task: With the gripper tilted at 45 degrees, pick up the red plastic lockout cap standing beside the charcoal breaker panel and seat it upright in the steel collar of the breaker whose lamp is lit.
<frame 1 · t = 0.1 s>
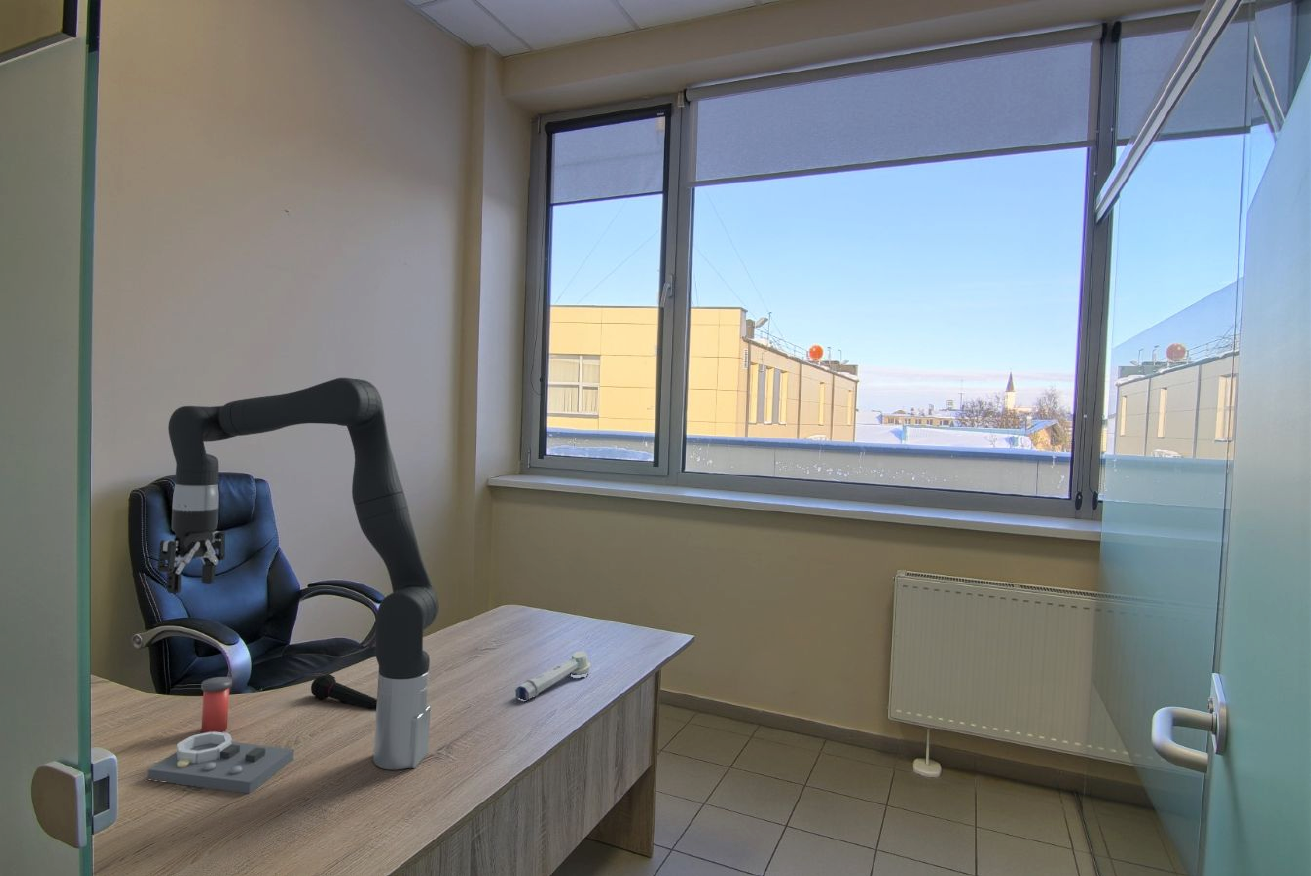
hand: (191, 587, 137), 29 cm above the table, tool pointing down, fingers open, 8 cm apart
breaker panel: (223, 769, 125), on the table
microphone: (347, 705, 156), on the table
toothbrush head: (554, 687, 174), on the table
lockout cap: (214, 730, 139), on the table
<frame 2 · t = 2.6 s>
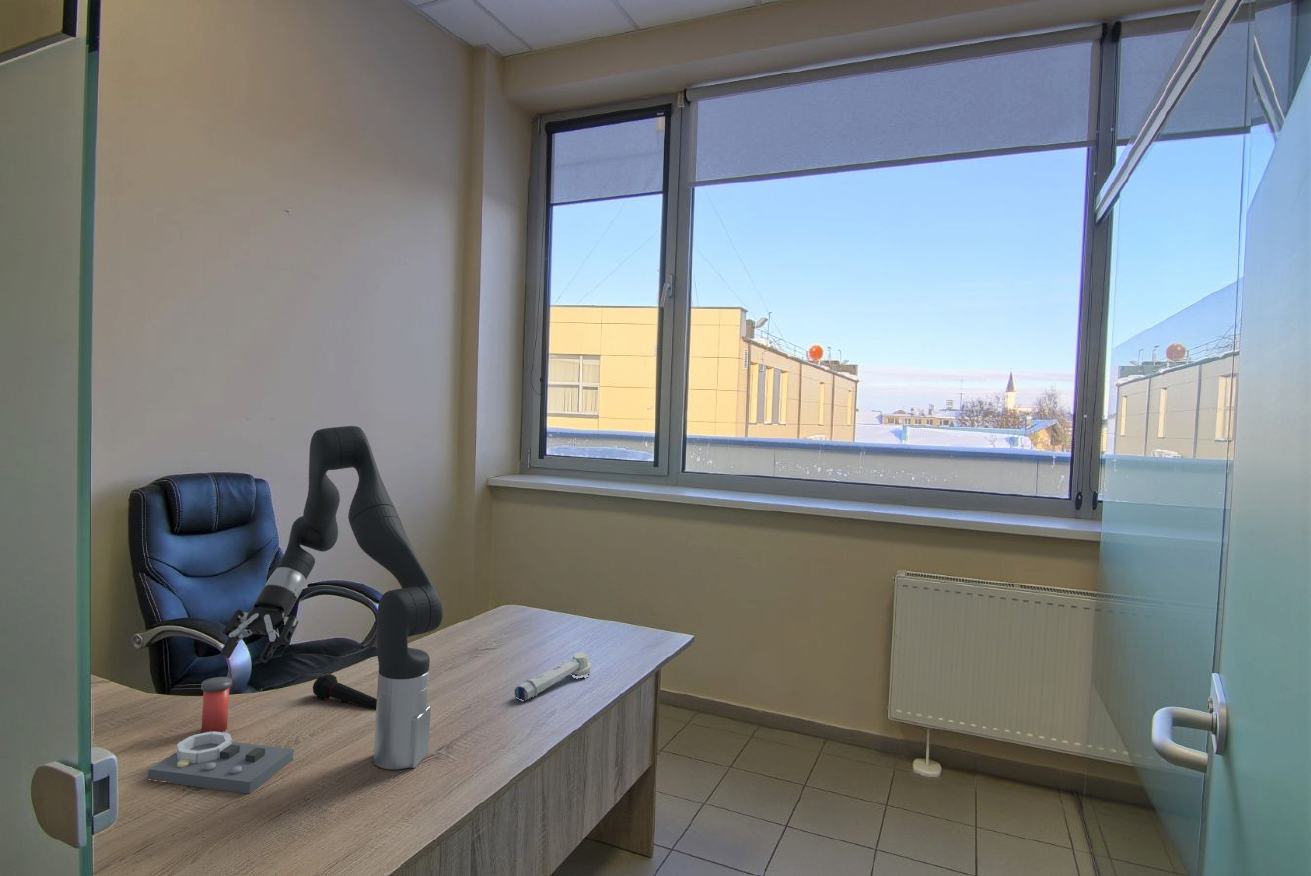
hand: (243, 658, 147), 12 cm above the table, tool tilted 45°, fingers open, 8 cm apart
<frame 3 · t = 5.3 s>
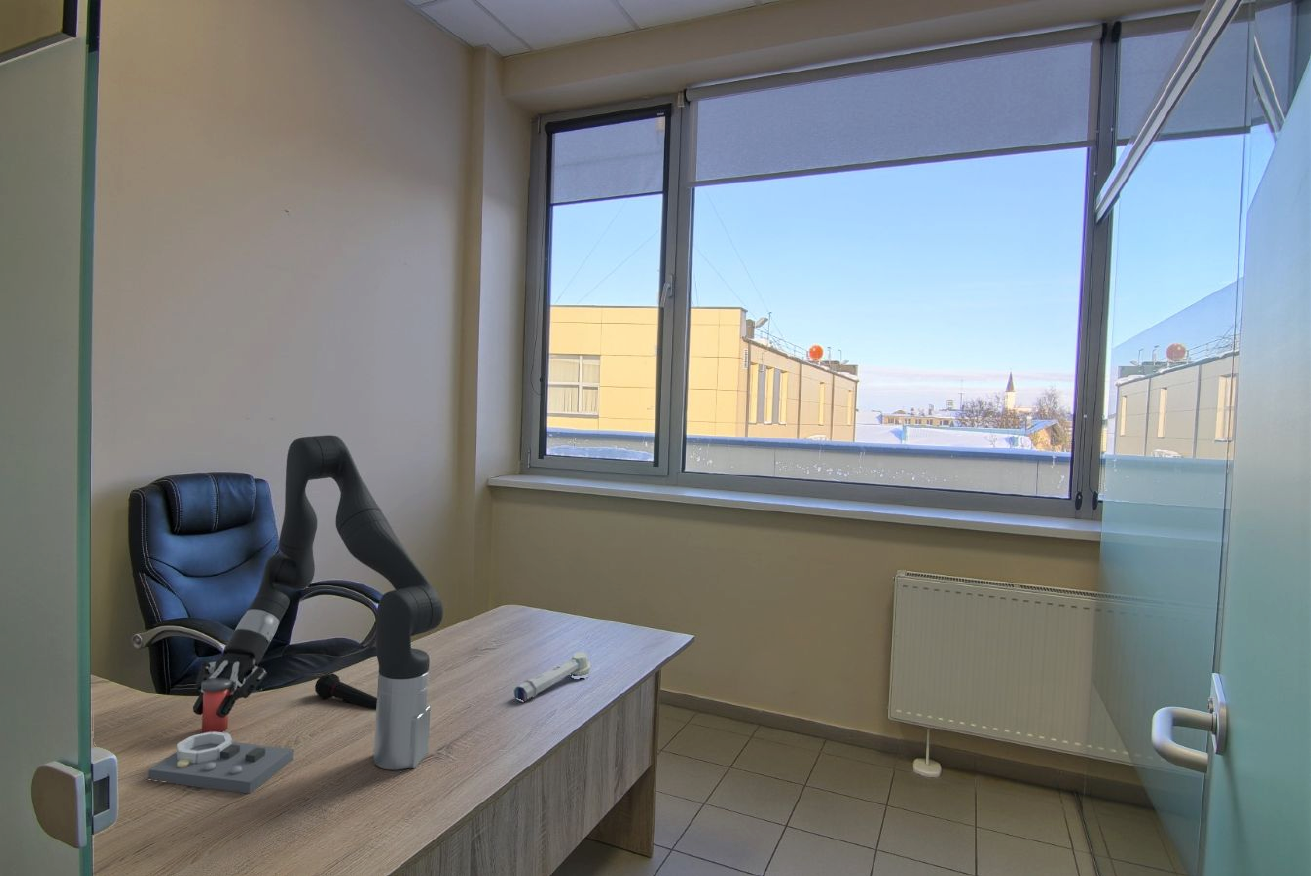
hand: (208, 714, 137), 4 cm above the table, tool tilted 45°, fingers closed on lockout cap, 4 cm apart
lockout cap: (214, 730, 139), on the table, touching gripper
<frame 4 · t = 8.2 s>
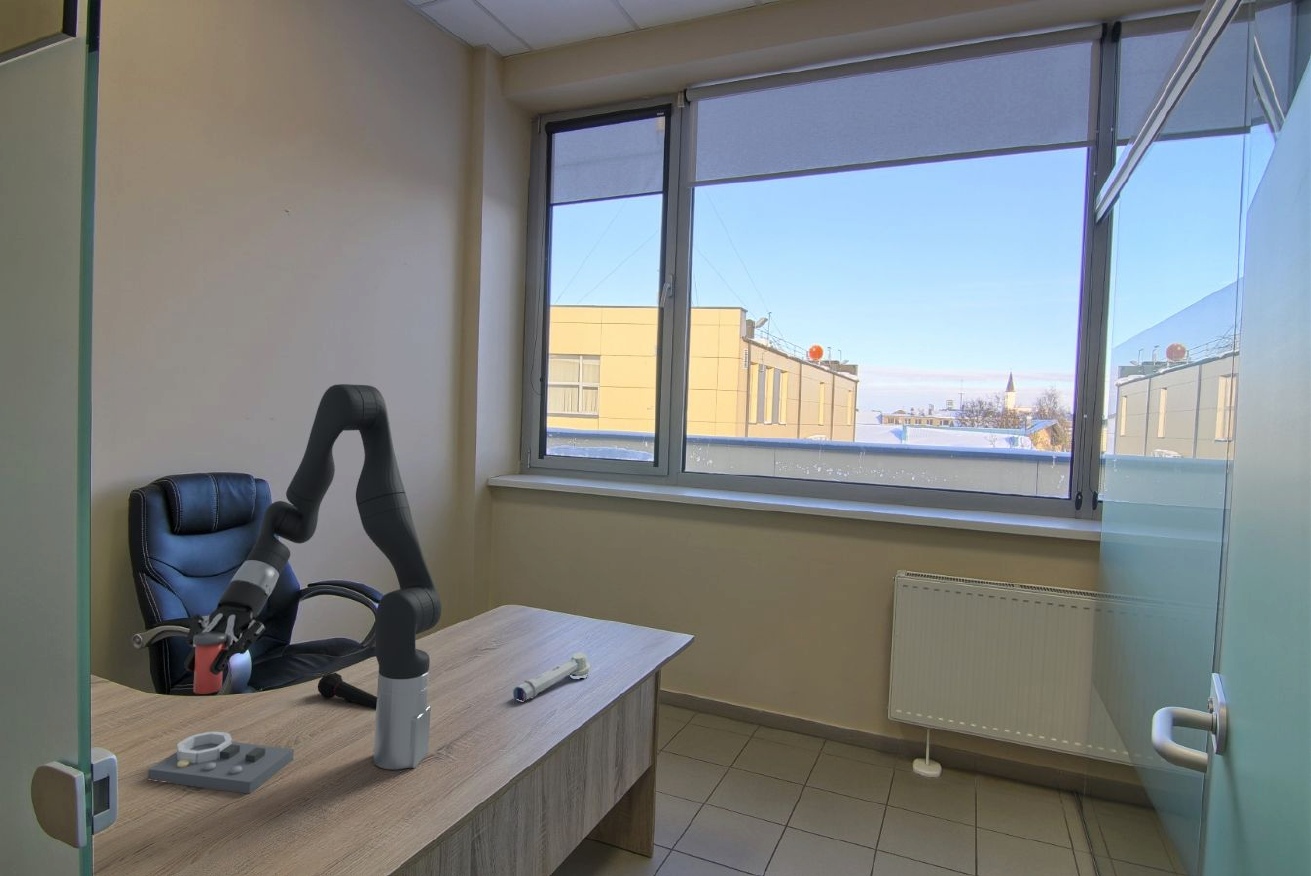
hand: (201, 670, 125), 18 cm above the table, tool tilted 45°, fingers closed on lockout cap, 4 cm apart
lockout cap: (207, 689, 127), point 14 cm above the table, touching gripper
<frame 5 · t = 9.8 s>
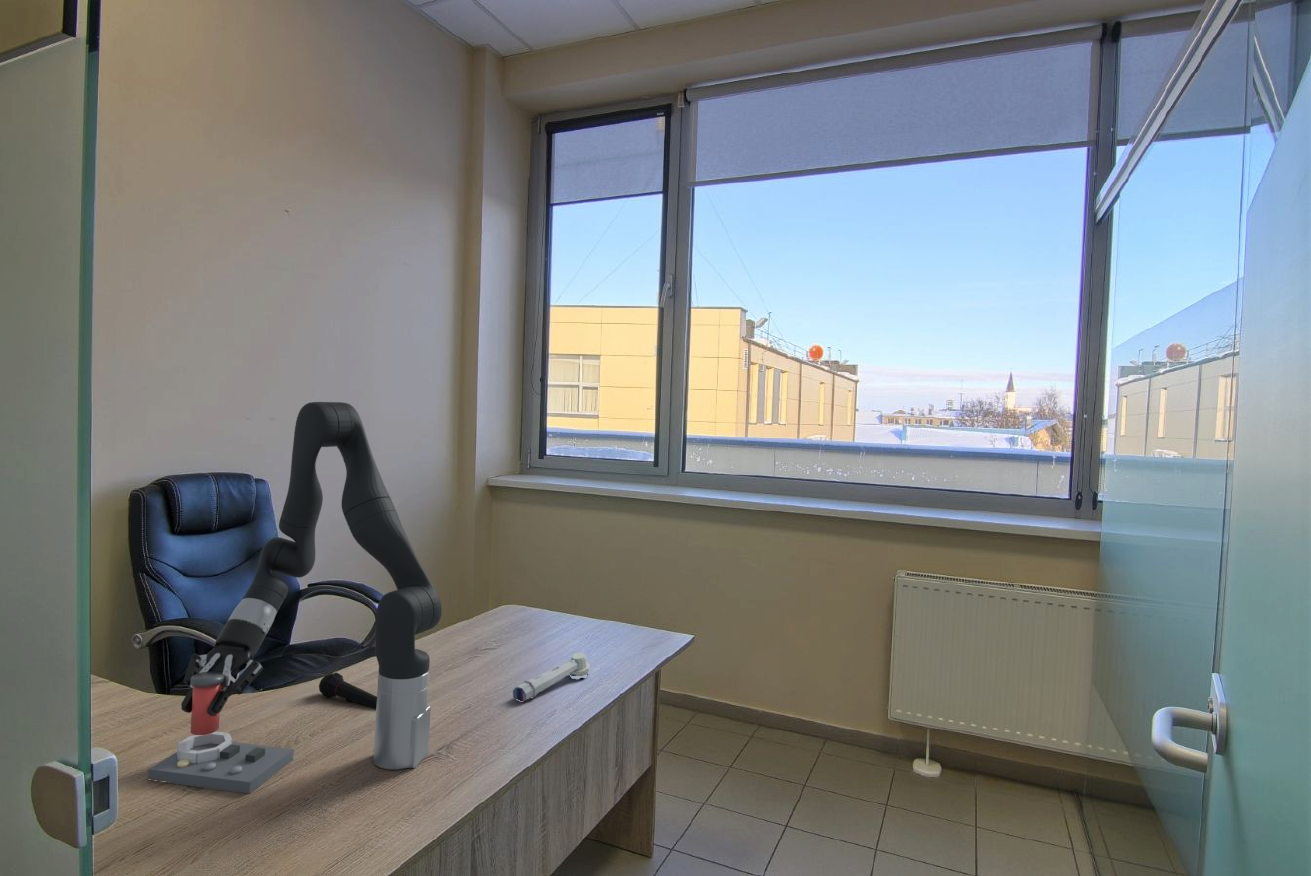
hand: (198, 712, 125), 10 cm above the table, tool tilted 45°, fingers closed on lockout cap, 4 cm apart
lockout cap: (204, 729, 127), point 6 cm above the table, touching gripper
when the fingers open (7 cm above the table, at t = 11.0 s): lockout cap stays where it is, resting on breaker panel.
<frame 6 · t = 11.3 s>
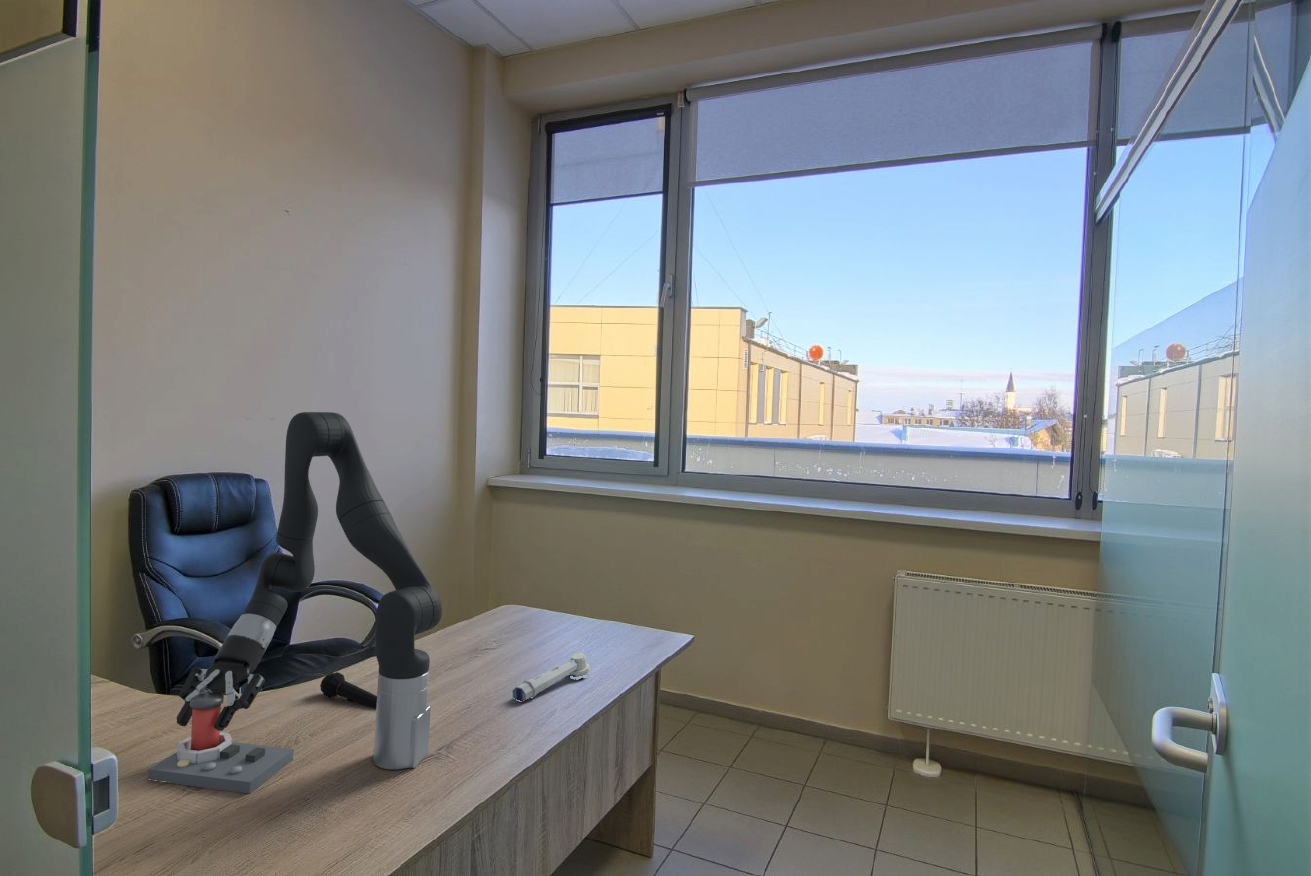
hand: (199, 726, 125), 7 cm above the table, tool tilted 45°, fingers open, 6 cm apart
lockout cap: (204, 751, 127), point 2 cm above the table, touching breaker panel
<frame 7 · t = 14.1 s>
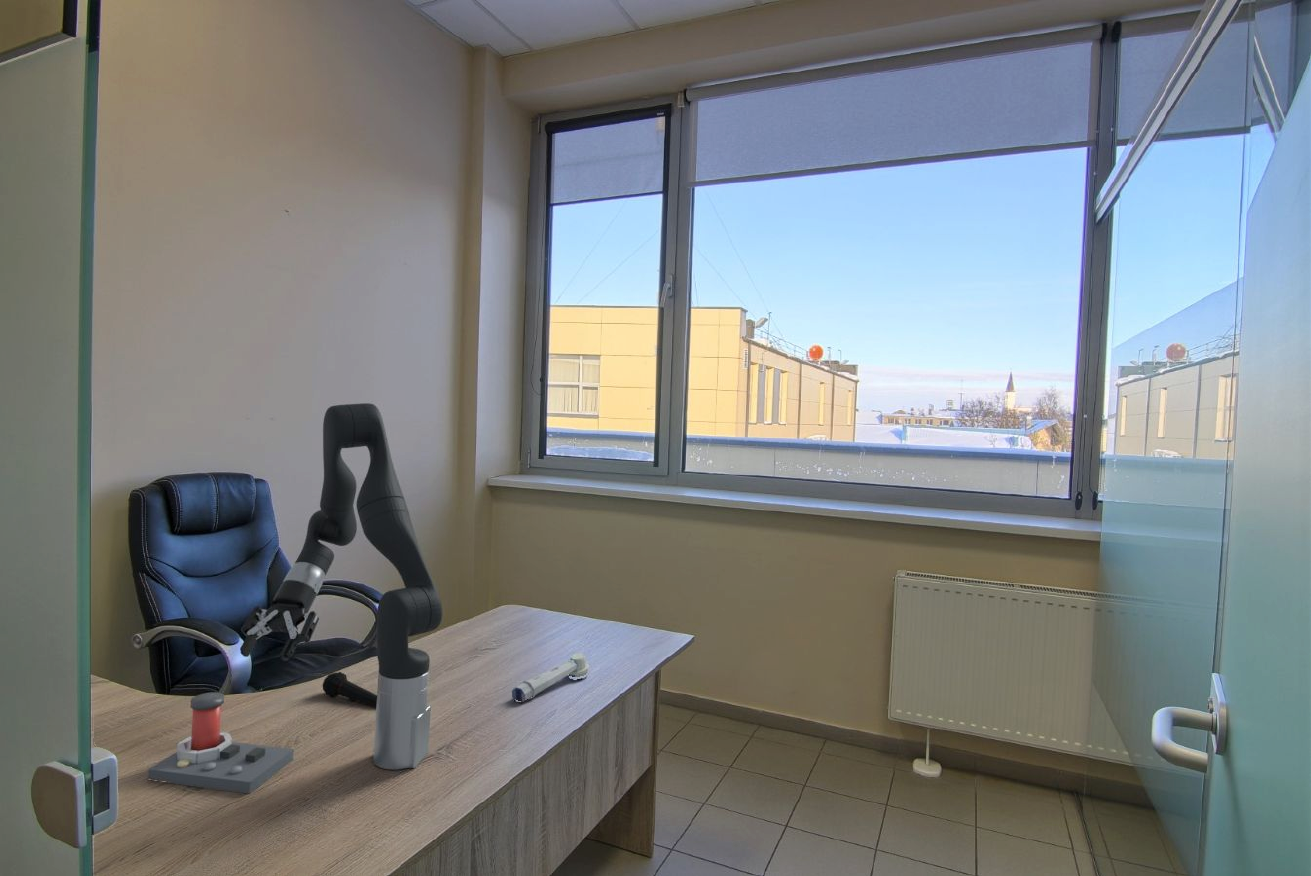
hand: (263, 657, 140), 15 cm above the table, tool tilted 45°, fingers open, 8 cm apart
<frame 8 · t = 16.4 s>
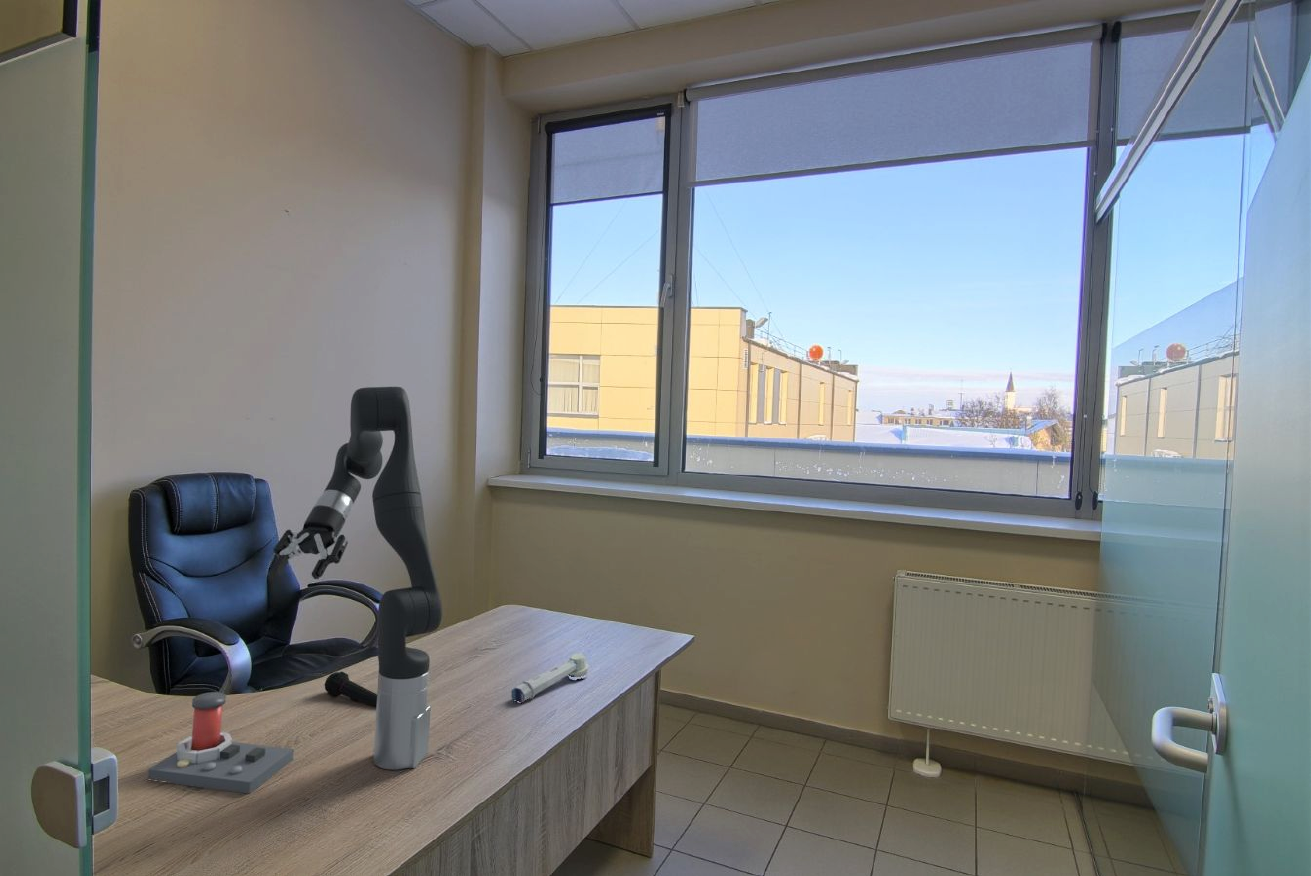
hand: (295, 575, 146), 31 cm above the table, tool tilted 45°, fingers open, 8 cm apart
at the end: lockout cap 0.1 cm from the target spot on the breaker panel, point 2.1 cm above the breaker panel's base; lockout cap tilted 2°; the gripper is holding nothing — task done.
